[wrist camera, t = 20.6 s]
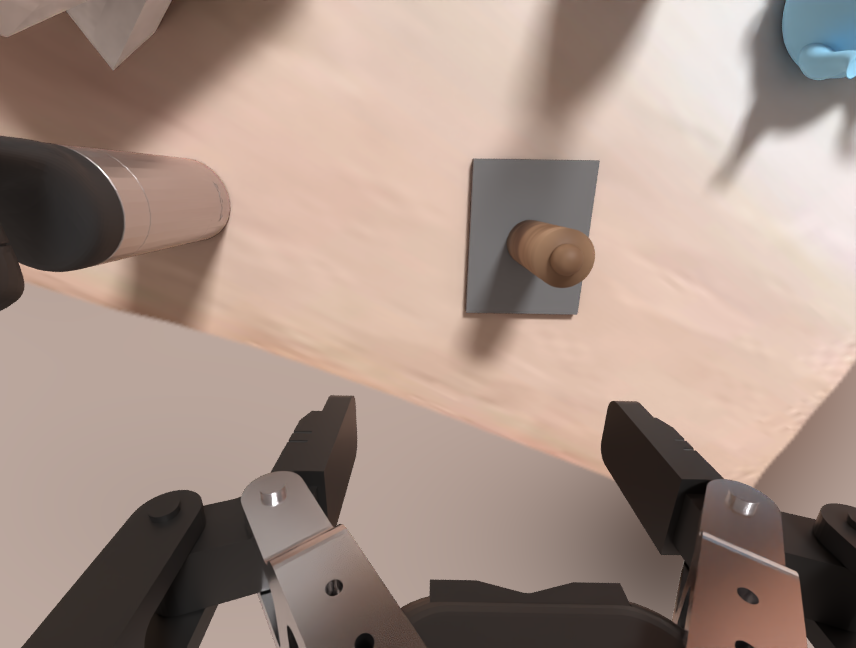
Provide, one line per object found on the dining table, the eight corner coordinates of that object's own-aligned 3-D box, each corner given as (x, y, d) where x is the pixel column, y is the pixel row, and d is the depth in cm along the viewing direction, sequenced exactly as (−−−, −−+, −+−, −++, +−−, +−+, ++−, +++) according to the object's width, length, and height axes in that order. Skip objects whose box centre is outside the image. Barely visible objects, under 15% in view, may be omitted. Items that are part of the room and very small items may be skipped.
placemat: (465, 310, 51) (466, 312, 50) (472, 159, 45) (473, 158, 44) (574, 312, 51) (577, 314, 50) (596, 161, 45) (599, 160, 44)
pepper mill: (505, 264, 48) (539, 293, 34) (507, 220, 46) (542, 231, 32) (549, 263, 48) (600, 292, 34) (552, 219, 46) (606, 229, 32)
